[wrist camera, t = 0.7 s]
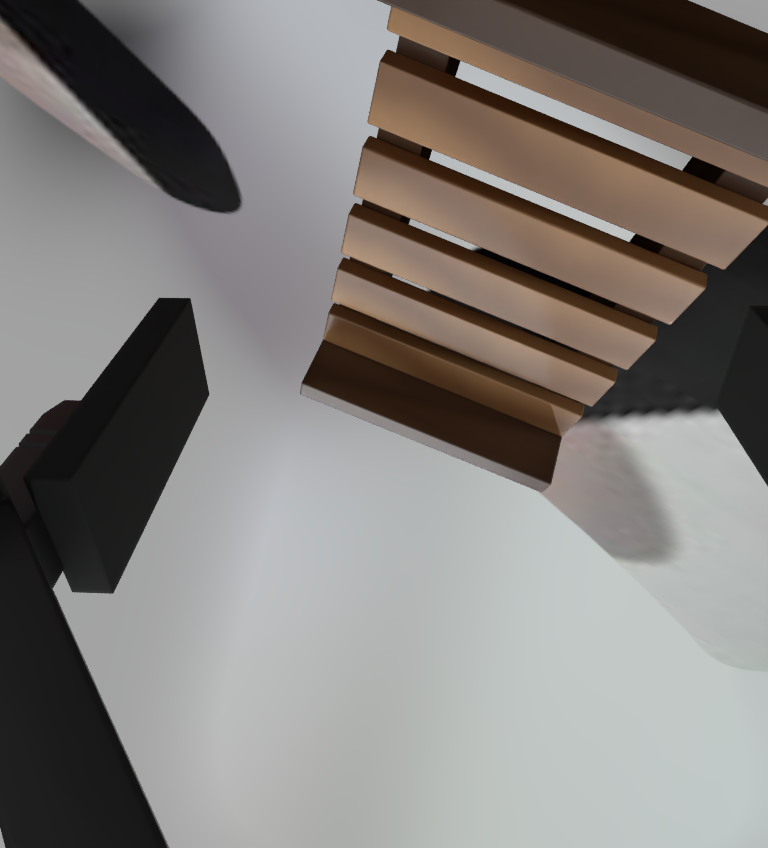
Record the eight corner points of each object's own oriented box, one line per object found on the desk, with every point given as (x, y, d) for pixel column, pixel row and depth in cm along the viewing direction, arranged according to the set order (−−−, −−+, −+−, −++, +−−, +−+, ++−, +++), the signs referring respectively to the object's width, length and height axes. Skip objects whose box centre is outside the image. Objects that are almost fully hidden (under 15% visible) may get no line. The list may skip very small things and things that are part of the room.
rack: (459, -163, 20) (375, -53, 16) (880, 12, 20) (900, 164, 16) (350, 292, 39) (299, 394, 35) (568, 381, 39) (542, 493, 35)
